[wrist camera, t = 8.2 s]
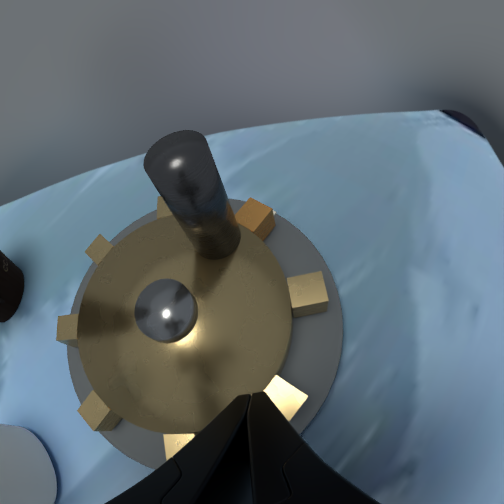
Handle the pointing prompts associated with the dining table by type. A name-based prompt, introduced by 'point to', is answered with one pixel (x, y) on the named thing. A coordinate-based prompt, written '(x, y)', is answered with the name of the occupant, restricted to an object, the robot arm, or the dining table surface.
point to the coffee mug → (9, 287)
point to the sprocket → (187, 306)
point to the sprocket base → (300, 354)
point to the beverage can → (25, 468)
